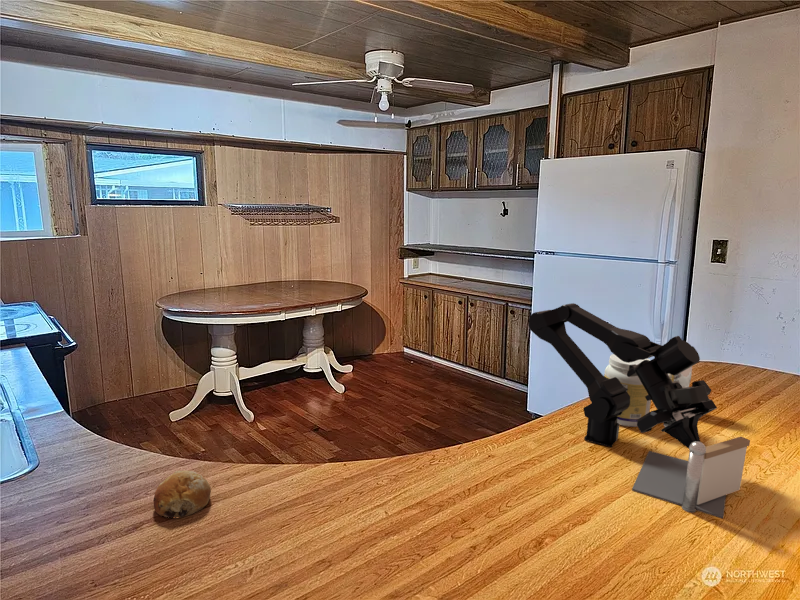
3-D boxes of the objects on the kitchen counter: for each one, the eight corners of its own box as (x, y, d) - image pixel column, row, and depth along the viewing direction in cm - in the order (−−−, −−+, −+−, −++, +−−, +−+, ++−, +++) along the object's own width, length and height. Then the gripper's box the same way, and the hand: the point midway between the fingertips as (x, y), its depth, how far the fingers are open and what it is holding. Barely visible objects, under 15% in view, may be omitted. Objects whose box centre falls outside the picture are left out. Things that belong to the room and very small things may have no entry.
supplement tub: (610, 405, 150) (616, 349, 147) (655, 418, 142) (662, 359, 138) (592, 417, 141) (598, 358, 138) (638, 432, 133) (646, 369, 130)
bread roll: (216, 517, 101) (226, 474, 103) (181, 525, 91) (192, 477, 93) (175, 506, 104) (185, 465, 106) (136, 513, 94) (148, 467, 96)
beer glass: (689, 415, 144) (697, 363, 141) (662, 413, 146) (669, 361, 143) (681, 405, 151) (688, 356, 148) (656, 403, 152) (662, 354, 149)
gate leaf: (698, 505, 100) (706, 453, 98) (690, 500, 102) (697, 449, 100) (741, 490, 106) (750, 440, 104) (733, 485, 108) (741, 436, 105)
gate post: (690, 514, 99) (700, 446, 96) (677, 506, 101) (686, 440, 98) (700, 511, 100) (710, 443, 97) (686, 503, 102) (696, 437, 100)
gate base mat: (631, 490, 107) (632, 488, 106) (648, 452, 123) (649, 450, 123) (723, 518, 98) (723, 516, 98) (728, 473, 114) (728, 471, 114)
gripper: (654, 374, 105) (700, 448, 97) (713, 362, 113) (759, 430, 105) (619, 397, 113) (658, 467, 106) (676, 385, 122) (716, 449, 114)
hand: (699, 453), depth 108 cm, fingers closed
